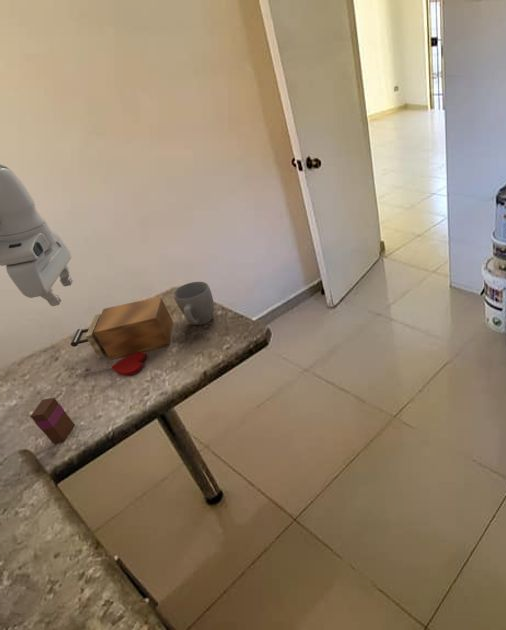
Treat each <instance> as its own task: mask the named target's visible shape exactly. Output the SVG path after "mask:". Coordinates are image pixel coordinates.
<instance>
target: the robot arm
mask: <svg viewBox="0 0 506 630" xmlns="http://www.w3.org/2000/svg"><path fill="white" fill-rule="evenodd" d="M71 259H72V255H71V252H70V250H69V249H68V247H67V246H66V244H65V242H64V241H63V239H62V238H61V237H60V235H58V233H56V232H53V231H52V229H51V227H50V225H49V224H48V222H47V221H46V219H45V218H44V217H43V216H42V215H41V214H40V212H38V209H37V208H36V204H35V200H34V199H33V197H32V196H31V194H30V192H29V191H28V189H27V187H26V186H25V185H24V183H23V182H22V180H21V179H20V178H19V177H18V175H17V174H16V172H14V171H13V170H12V169H11V168H9V167H7V166H5V165H3V164H0V266H1V267H5V271H6V273H7V275H8V277H9V278H10V279H11V281H12V282H13V284H14V286H16V287H17V289H18V290H19V291H20V293H21V294H22V295H23V296H24V297H26V298H29V299H32V298H33V299H34V298H38V297H41V298H42V299H43V300H46V301H47V303H48V304H49V306H51V307H57V306H59V305H60V304H61V303H62V299H61V298H60V296H59V295H58V294H55V293H54V292H53V289H52V287H53V286H54V284H55V283H56V281H57V280H58V278H60V280H59V282H60V283H61V286H62V287H70V286H71V285H72V284H73V283H74V280H73V278H72V277H71V275H70V270H69V267H68V264H69V262H70V260H71Z"/></svg>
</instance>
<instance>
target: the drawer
mask: <svg viewBox="0 0 506 630" xmlns="http://www.w3.org/2000/svg"><path fill="white" fill-rule="evenodd" d="M101 314H102V313H98V314H95V315H94V316H93V318H92V321H91V323H90V324H89V325H90V326H89V328H85V329H83V328H78V329H76V332H75V334H74V335H73V338H72V340H71V342H70V346H71V347H75V348H76V347H78V346H79V345H80V344H85V343H89V344H90V346H91V348H92V349H93V350H94V352H95V354H96V356H97V357H98V358H99V359H101V358H105V357H106V355H107V353H106V352H105V350H104V348H103V347H102V345H101V343H100V342H99V340H98V339H97V337H96V335H95V334H94V330H95V328H96V326H97V323H98V321H99V318H100V316H101ZM84 333H86V335H85V337H86V338H84V339H81V338H82V337H83V334H84Z"/></svg>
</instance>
